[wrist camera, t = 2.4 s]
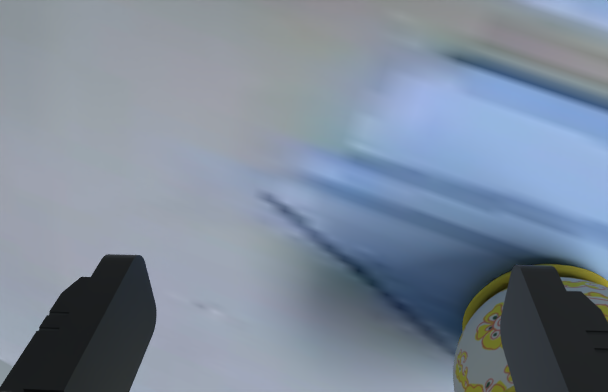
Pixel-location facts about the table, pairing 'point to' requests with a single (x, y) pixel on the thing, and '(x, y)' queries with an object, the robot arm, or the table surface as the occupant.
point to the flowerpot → (486, 330)
